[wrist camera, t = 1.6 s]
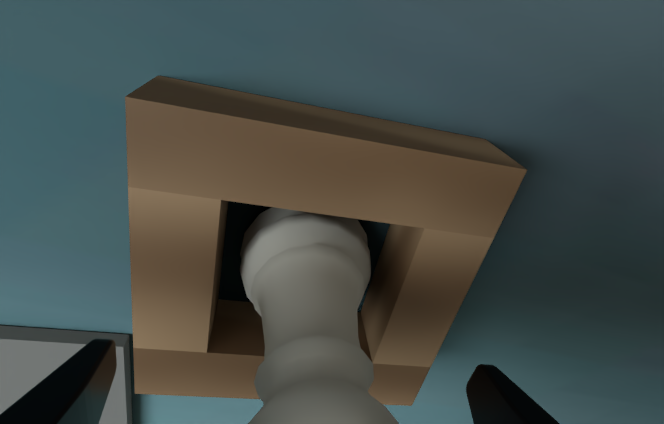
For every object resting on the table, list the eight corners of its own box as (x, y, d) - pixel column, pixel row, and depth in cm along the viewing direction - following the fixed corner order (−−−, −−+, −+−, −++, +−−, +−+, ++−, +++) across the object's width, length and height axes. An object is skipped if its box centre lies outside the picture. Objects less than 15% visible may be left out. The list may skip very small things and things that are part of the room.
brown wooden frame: (395, 353, 17) (411, 405, 15) (156, 336, 15) (134, 393, 13) (485, 139, 13) (527, 170, 10) (158, 75, 11) (125, 96, 8)
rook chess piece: (213, 245, 13) (138, 513, 7) (311, 165, 12) (343, 384, 5) (300, 312, 15) (312, 574, 8) (390, 248, 14) (489, 488, 7)
